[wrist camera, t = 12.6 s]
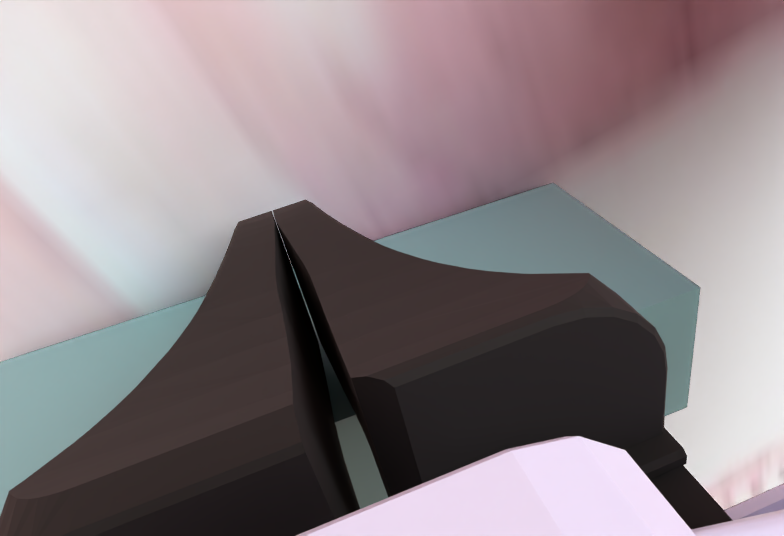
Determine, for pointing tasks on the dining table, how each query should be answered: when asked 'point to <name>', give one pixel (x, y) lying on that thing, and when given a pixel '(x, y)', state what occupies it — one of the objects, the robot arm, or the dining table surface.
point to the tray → (429, 241)
